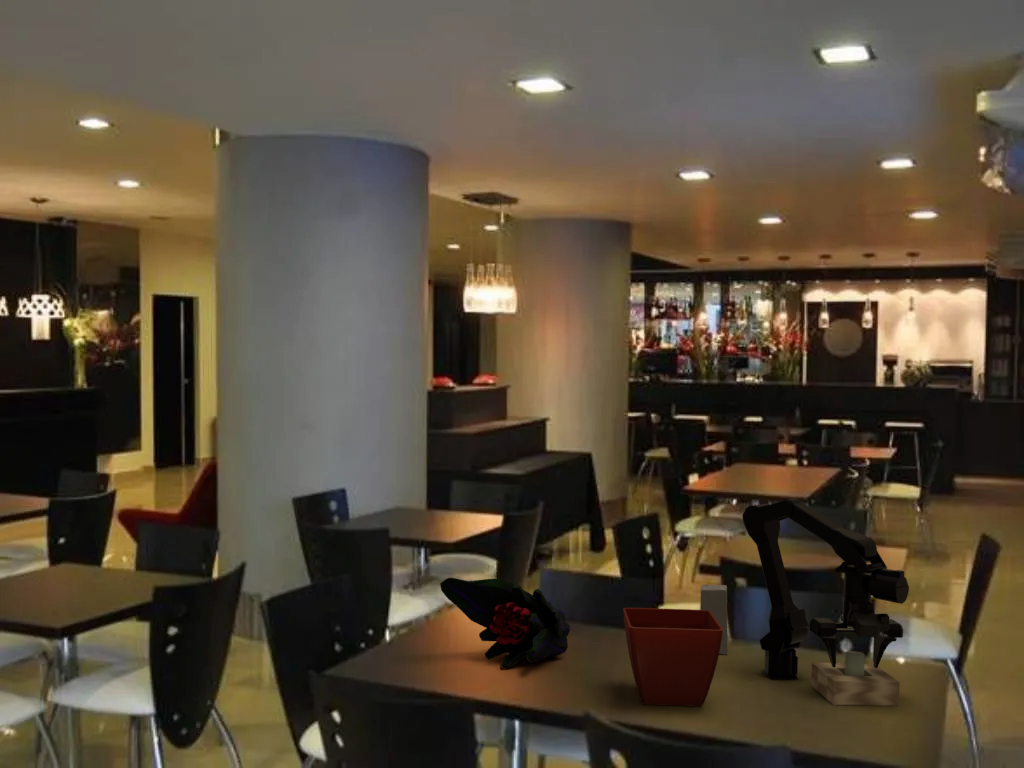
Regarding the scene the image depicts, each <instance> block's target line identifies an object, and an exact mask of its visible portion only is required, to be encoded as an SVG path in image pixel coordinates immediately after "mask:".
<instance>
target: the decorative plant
mask: <svg viewBox="0 0 1024 768" xmlns="http://www.w3.org/2000/svg"><path fill="white" fill-rule="evenodd" d="M439 585H440V591H441V592H442V594H444V596H445V597H446V598H447V600H449V602H451V603H453V604H454V605H455V606H456V607H457V608H458V609H459V610H460V611H461V613H463V614H464V615H465V617H467V618H468V619H469V620H470V621H471V622H473V623H475V624H477V625H480V626H481V627H484V628H485V629H483V630H481V632H479V634H478V637H479V639H480V640H481V641H482V642H494V643H493V644H492V645H491V646H489V648H488V649H487V650H486V651H485V653H484V657H485V658H486V659H487V660H488V661H489V660H492V659H494V658H497V657H500V656H502V655H504V657H503V658H502V661H501V665H500V667H501V668H502V669H504V670H505V669H507V670H509V669H510V668H512V667H513V666H515V665H516V664H517V663H519V662H520V661H522V659H523V660H524V659H525V658H526V659H527V661H528V662H529V664H532V663H537V662H538V661H539V660H543V659H546V658H547V657H550V658H551V657H553V658H555V657H557V656H560V655H562V654H564V653H566V651H567V650H568V647H569V646H568V636H569V633H570V631H571V626H570V624H569V623H568V622H567V620H566V613H565V612H564V611H563V610H562V609H558V608H556V607H554V606H553V604H552V603H551V602H550V601H548V600H547V599H546V597H545V596H544V594H543V592H542V591H541V590H540V589H539V588H536V589H534V590H533V592H532V594H531V593H530V592H528V591H526V590H525V589H523V588H522V586H521V585H518V584H514V583H513V582H509V581H505V580H502V579H498V578H485V579H484V578H483V579H475V580H464V579H460V578H456V577H447V578H446V579H444V580H443V581H441V582H440V584H439ZM505 654H506V655H505Z"/></svg>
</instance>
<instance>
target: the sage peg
mask: <svg viewBox="0 0 1024 768" xmlns="http://www.w3.org/2000/svg"><path fill="white" fill-rule="evenodd" d="M865 659H866V654H865V653H864V652H859V651H855V650H854V651H853V650H851V651H850V650H849V651H846V652H845V655H844V663H845V675H846V676H864V664H865V662H866V661H865Z"/></svg>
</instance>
